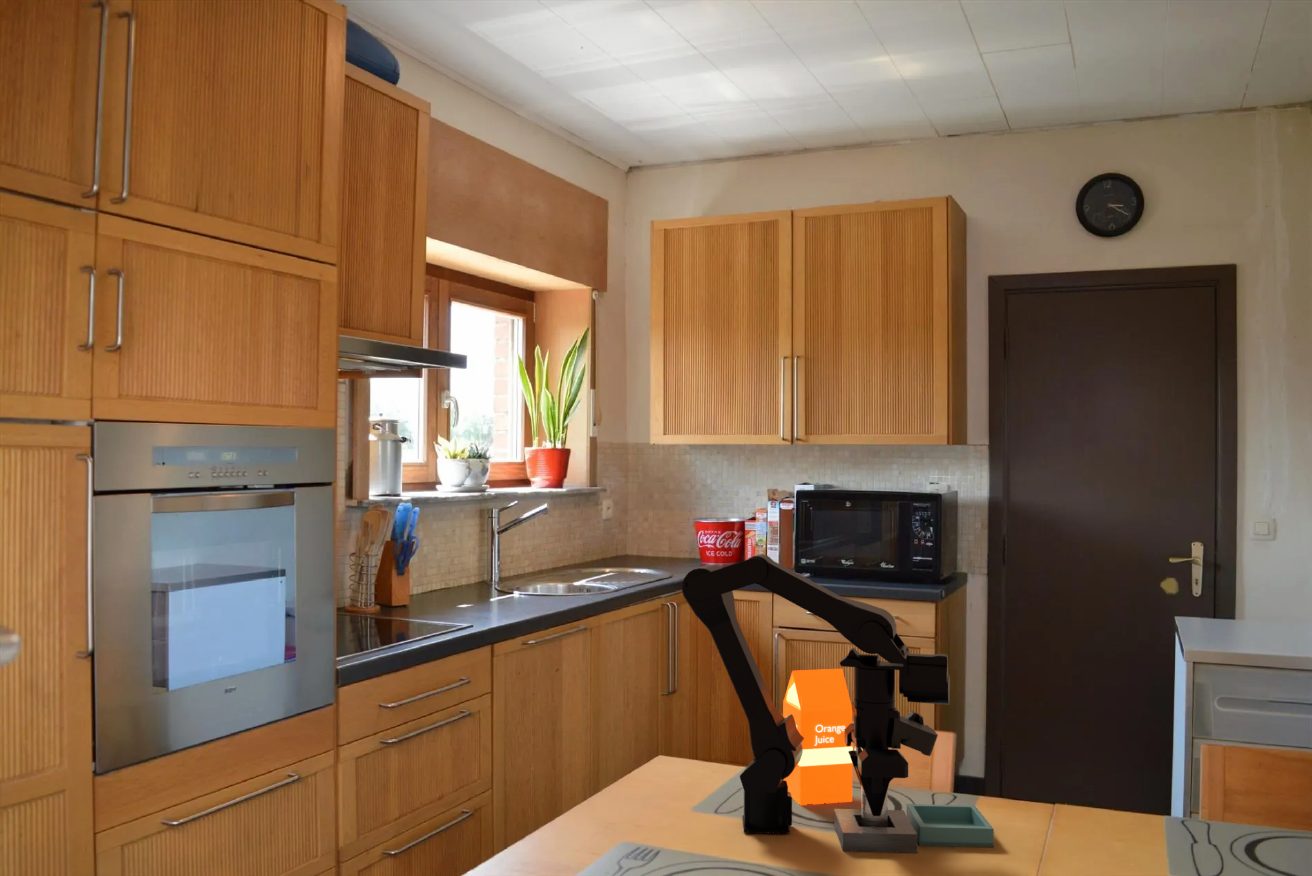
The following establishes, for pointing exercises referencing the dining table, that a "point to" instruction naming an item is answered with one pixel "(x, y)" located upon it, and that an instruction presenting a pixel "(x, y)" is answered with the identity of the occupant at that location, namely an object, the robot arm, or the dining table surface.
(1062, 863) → the dining table surface
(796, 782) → the orange juice
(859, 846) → the grey flat square frame
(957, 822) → the tray
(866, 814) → the pin
